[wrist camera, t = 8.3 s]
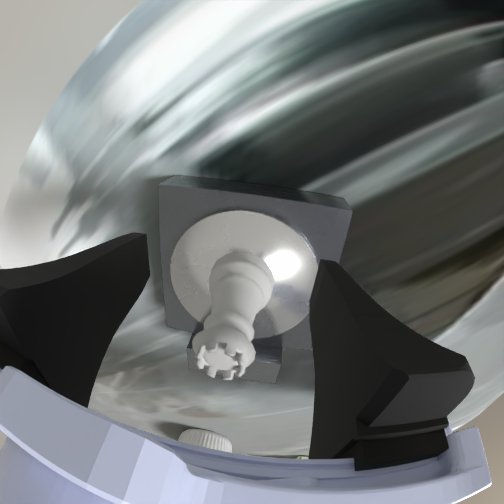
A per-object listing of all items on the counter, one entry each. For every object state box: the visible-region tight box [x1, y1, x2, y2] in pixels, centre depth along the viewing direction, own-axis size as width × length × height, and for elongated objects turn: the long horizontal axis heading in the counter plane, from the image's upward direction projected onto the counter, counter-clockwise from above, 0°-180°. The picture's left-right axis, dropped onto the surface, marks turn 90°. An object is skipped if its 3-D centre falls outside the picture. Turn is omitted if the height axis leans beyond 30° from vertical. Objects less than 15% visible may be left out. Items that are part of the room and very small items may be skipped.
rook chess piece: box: [192, 251, 275, 380], centre depth 16 cm, size 4×4×8 cm
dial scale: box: [158, 175, 353, 384], centre depth 21 cm, size 16×13×5 cm
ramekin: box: [178, 429, 232, 452], centre depth 40 cm, size 11×11×5 cm
